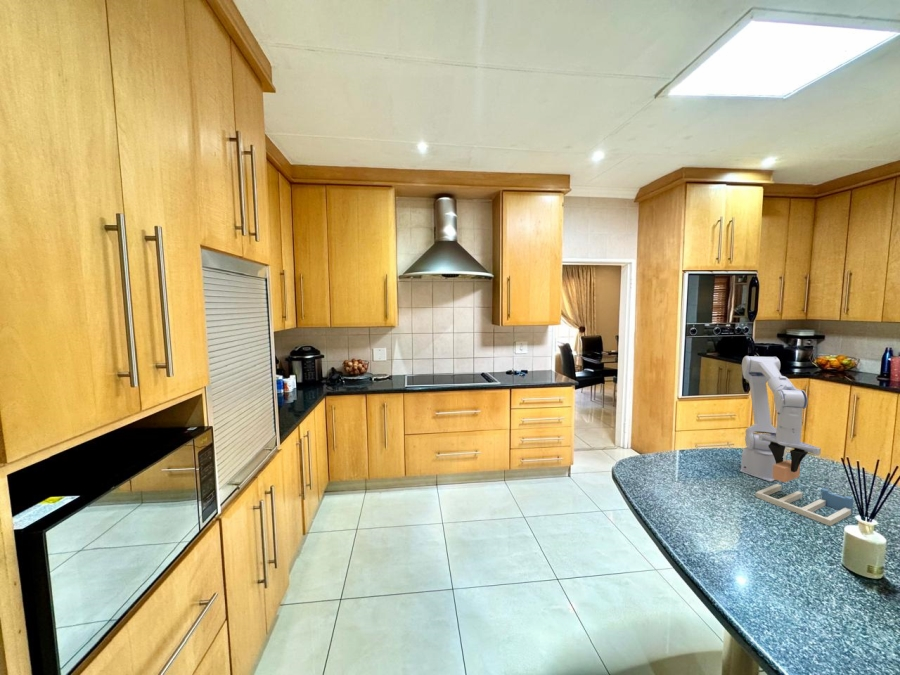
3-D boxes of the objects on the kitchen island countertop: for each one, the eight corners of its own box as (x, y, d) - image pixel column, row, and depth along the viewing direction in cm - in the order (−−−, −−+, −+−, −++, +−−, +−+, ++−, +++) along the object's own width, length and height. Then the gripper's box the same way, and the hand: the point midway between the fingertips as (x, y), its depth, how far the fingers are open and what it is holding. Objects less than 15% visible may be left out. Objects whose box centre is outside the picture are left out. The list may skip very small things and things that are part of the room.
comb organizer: (755, 496, 114) (755, 492, 114) (776, 488, 119) (776, 483, 119) (830, 526, 98) (830, 520, 98) (850, 514, 103) (851, 509, 103)
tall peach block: (772, 478, 111) (773, 464, 111) (787, 473, 115) (788, 459, 115) (784, 482, 109) (785, 468, 108) (799, 476, 112) (800, 463, 112)
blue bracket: (820, 504, 109) (821, 489, 109) (822, 502, 110) (823, 488, 110) (849, 514, 103) (850, 499, 103) (852, 513, 104) (853, 497, 104)
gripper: (754, 422, 116) (752, 462, 117) (813, 436, 103) (811, 481, 103) (766, 419, 119) (764, 458, 120) (825, 432, 105) (822, 476, 106)
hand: (786, 468), depth 112 cm, fingers closed on tall peach block, 3 cm apart
